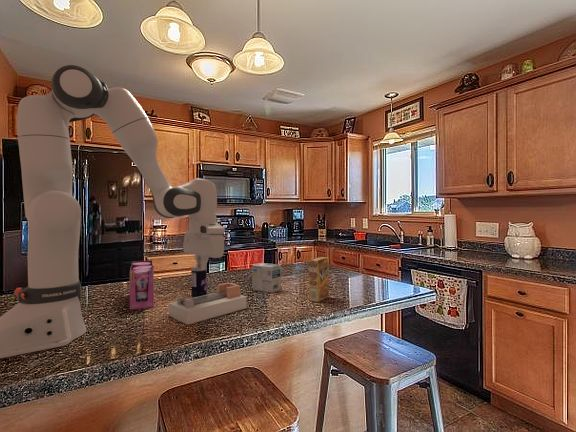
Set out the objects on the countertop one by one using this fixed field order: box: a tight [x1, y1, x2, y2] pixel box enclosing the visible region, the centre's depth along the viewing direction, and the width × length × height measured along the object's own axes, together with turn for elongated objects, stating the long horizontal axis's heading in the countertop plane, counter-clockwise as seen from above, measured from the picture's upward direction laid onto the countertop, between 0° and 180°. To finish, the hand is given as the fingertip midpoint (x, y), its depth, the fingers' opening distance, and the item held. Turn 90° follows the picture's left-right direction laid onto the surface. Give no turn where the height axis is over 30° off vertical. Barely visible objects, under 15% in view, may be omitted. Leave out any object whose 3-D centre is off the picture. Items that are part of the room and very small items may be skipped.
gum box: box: [129, 259, 155, 310], centre depth 122 cm, size 24×8×14 cm, turn 23°
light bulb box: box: [251, 262, 282, 294], centre depth 137 cm, size 11×7×11 cm, turn 58°
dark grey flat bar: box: [181, 291, 227, 305], centre depth 108 cm, size 16×4×1 cm, turn 136°
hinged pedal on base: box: [168, 282, 247, 325], centre depth 108 cm, size 22×12×8 cm, turn 136°
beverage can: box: [190, 265, 208, 298], centre depth 126 cm, size 6×6×12 cm
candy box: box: [308, 256, 330, 303], centre depth 123 cm, size 9×4×15 cm, turn 147°
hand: (201, 268), depth 109 cm, fingers closed
